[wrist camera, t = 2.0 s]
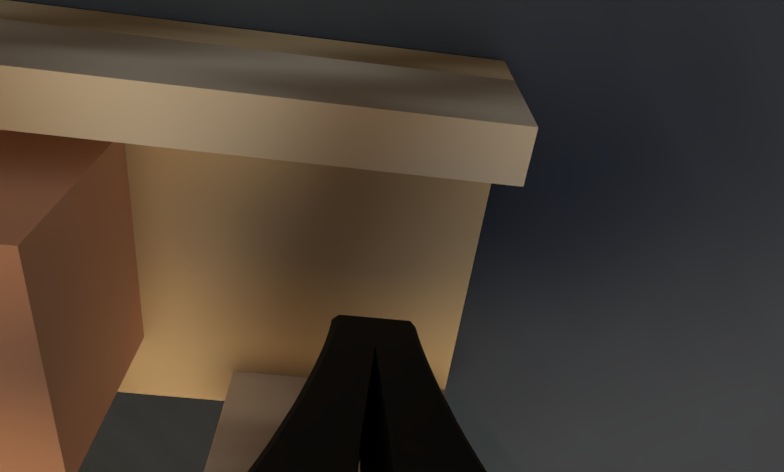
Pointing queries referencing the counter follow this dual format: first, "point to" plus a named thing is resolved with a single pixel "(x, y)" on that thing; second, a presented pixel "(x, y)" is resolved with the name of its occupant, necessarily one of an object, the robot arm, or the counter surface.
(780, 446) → the counter surface
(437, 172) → the wooden tray
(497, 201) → the counter surface
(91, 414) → the block
